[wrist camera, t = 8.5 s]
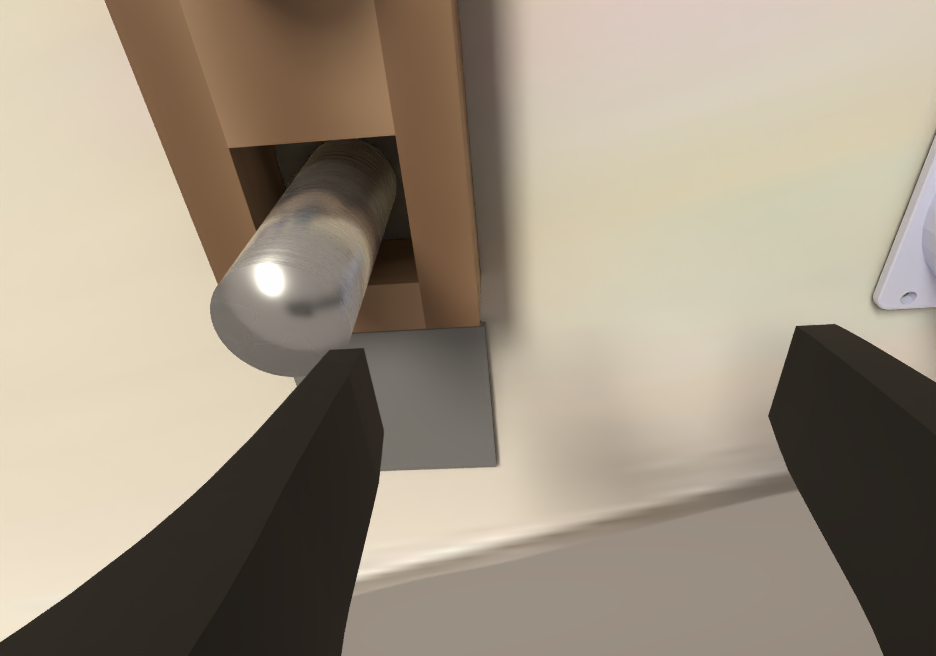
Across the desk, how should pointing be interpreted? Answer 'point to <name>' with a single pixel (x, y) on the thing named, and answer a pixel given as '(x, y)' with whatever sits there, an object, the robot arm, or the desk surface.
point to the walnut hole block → (317, 126)
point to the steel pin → (308, 262)
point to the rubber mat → (431, 396)
